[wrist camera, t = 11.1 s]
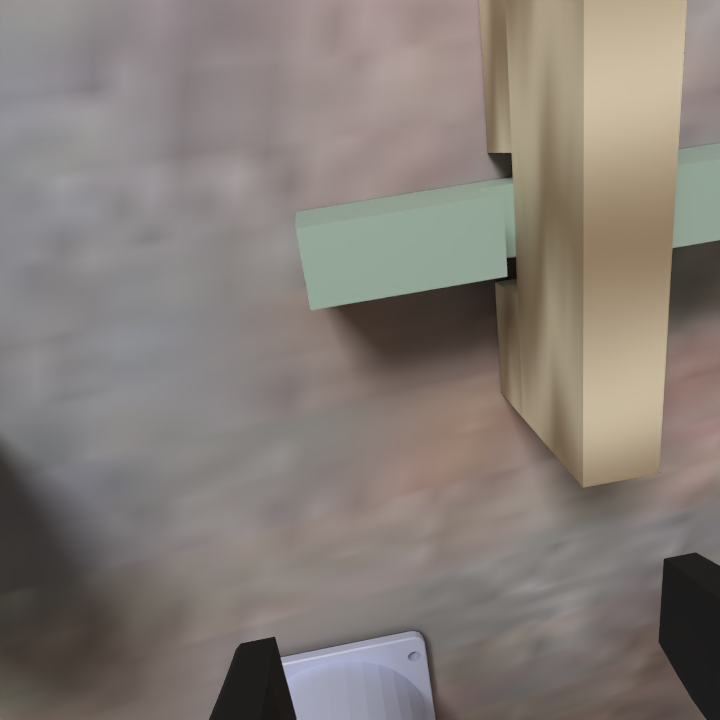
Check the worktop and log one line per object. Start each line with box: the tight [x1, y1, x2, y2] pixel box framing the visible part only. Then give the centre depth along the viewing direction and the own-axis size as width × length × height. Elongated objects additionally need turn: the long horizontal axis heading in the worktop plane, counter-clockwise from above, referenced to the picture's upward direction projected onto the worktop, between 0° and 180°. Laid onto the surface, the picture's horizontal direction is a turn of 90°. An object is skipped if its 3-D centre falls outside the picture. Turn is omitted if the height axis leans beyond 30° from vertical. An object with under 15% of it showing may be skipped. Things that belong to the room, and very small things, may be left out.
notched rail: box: [296, 143, 720, 310], centre depth 16 cm, size 2×14×4 cm, turn 98°
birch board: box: [479, 0, 687, 488], centre depth 15 cm, size 12×2×6 cm, turn 8°
